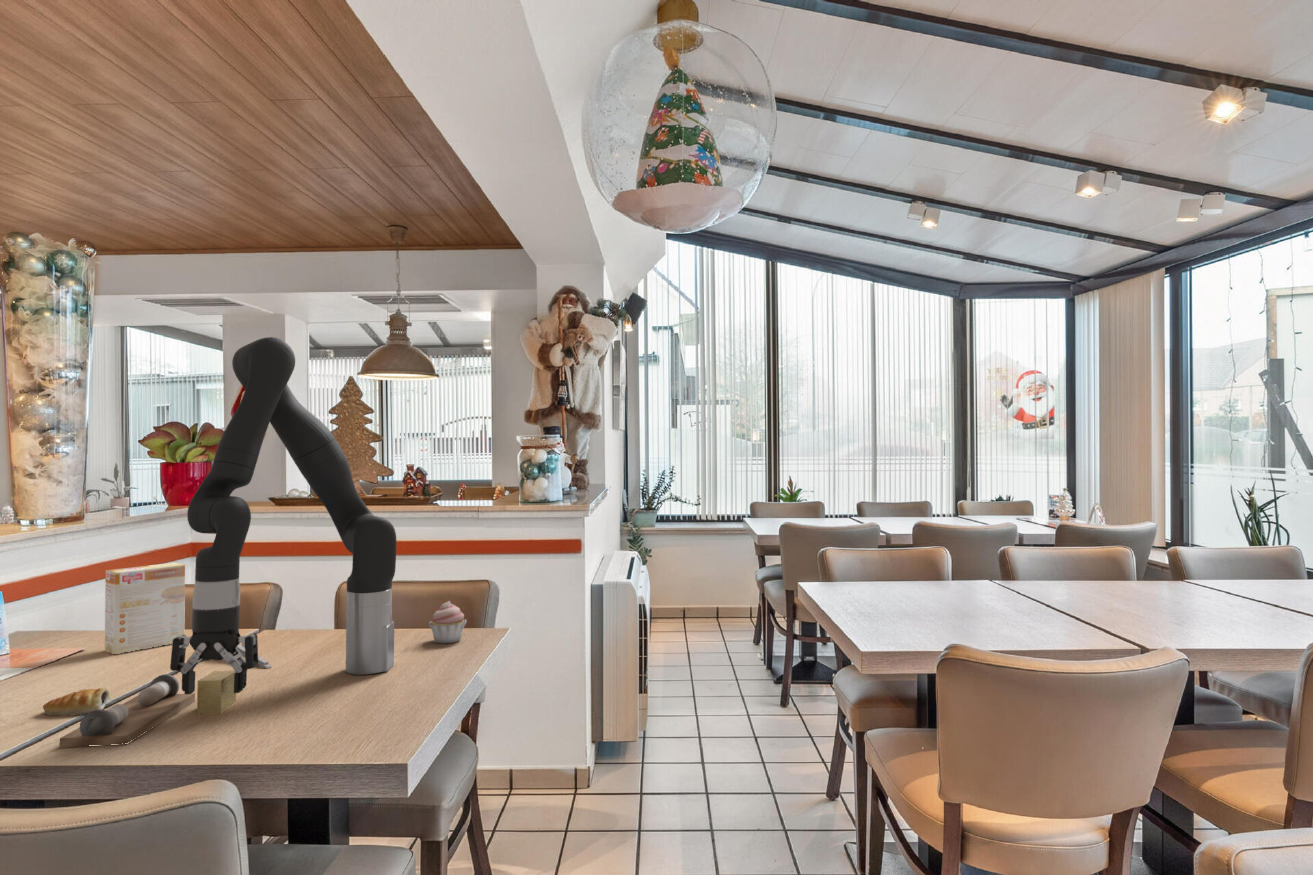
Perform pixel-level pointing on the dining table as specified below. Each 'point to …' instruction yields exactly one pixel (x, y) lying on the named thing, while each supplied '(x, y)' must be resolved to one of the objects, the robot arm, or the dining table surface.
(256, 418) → the robot arm
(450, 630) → the cupcake
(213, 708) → the coupler
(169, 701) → the shaft mount
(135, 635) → the coffeecake box
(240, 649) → the caliper
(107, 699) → the pastry
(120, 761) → the dining table surface
